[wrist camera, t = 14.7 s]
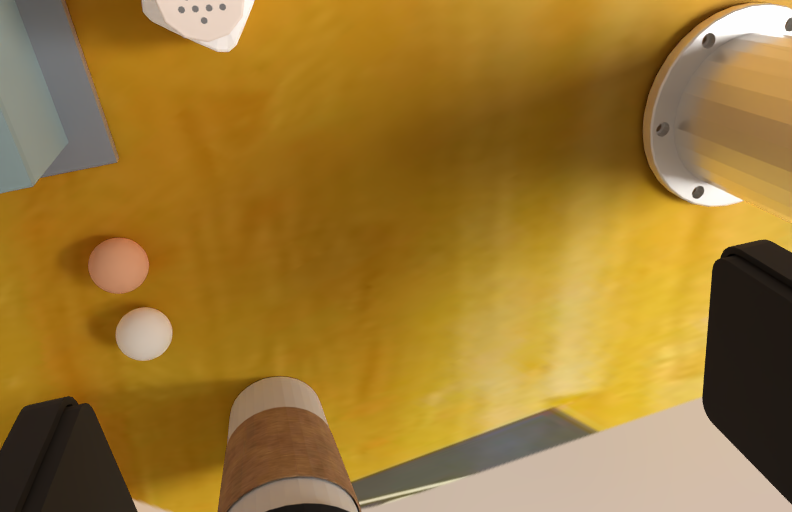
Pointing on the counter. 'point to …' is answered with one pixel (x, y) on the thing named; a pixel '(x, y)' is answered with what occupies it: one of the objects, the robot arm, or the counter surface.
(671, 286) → the counter surface
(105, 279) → the terracotta ball
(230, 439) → the coffee cup
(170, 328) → the cream ball
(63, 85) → the plate
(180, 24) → the pepper shaker
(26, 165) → the sage green block
